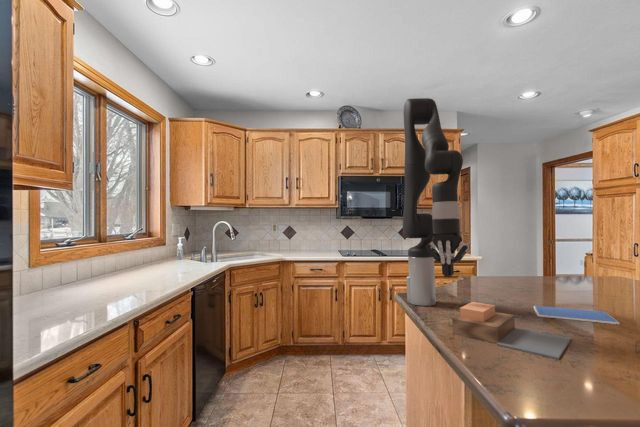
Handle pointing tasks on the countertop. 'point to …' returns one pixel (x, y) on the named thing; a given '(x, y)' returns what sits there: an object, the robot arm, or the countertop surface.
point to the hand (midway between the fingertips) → (448, 276)
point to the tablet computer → (575, 314)
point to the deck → (485, 327)
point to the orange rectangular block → (477, 311)
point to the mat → (535, 342)
